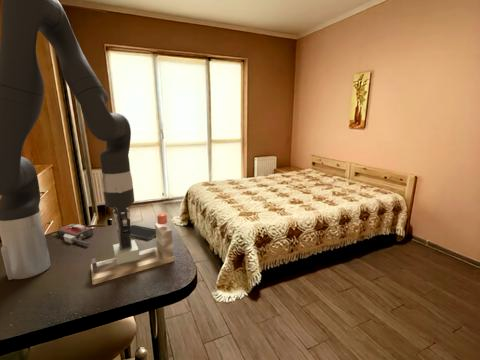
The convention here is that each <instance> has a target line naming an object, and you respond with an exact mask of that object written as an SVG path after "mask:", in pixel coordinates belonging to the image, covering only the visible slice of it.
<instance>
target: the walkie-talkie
mask: <svg viewBox="0 0 480 360" xmlns="http://www.w3.org/2000/svg"><path fill="white" fill-rule="evenodd" d="M55 233H56V235H59V237H63V239H64V242H66V243H69V244H73V243H77V244H81V245H86V246H89V245H90V243H89V242H88V241H84V240H83V239H86V238H88V237H92V236H93V235H94V229H93V227H89V226H85V225H83V224H80V223H79V224H77V223H70V224H68V225H65V226H62V227H59V229H58V230H57V231H56V232H55Z"/></svg>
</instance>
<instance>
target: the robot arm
mask: <svg viewBox="0 0 480 360" xmlns="http://www.w3.org/2000/svg"><path fill="white" fill-rule="evenodd" d="M0 7H1V10H0V11H1V12H0V13H1V15H0V17H1V20H0V21H1V22H0V25H1V27H0V28H1V29H0V30H1V31H0V196H1V197H0V240H1V244H2V246H1V248H0V251H1V256H2V259H3V263H4V264H3V265H4V267H5V272H6V275H7V279H8V281H10V280H22V279H28V278H29V279H30V278H32V277H35V276H37V275H40V274H41V273H44V272H45V271H46V270H49V269H50V267H51V259H50V253H49V249H48V244H47V240H46V235H45V229H44V224H43V220H42V215H41V211H40V202H41V190H40V184H39V183H40V182H39V177H38V173H37V170H36V167H35V166H34V165H35V164H33V162H31V161H30V160H29V158H27V157H24V156H22V154H23V148H24V145H25V142H26V140H27V138H28V137H29V135H30V133H31V132H32V130H33V128H34V126H35V125H36V124H37V122H38V120H39V119H40V118H39V117H40V116H41V112H42V109H43V108H42V107H43V103H44V96H45V81H44V78H43V77H44V76H43V73H42V70H41V67H40V64H39V59H38V55H37V41H38V40H37V39H38V33H39V32H40V33H41V34H42V36H43V37H45V39H46V41H48V43H49V44H50V45H51V47H52V48H53V50H54V52H55V54H56V55H57V59H58V60H59V61H58V62H59V65H60V70H61V73H62V76H63V78H64V81H65V83H66V84H67V87H68V88H69V91H71V93H72V94H73V96H74V98H75V99H76V101H77V102H78V104H79V105H80V110H81V113H82V115H83V118H84V122H85V124H86V127H87V129H88V130H89V132H90V133H91V134H92V135H93V137H94V138H96V139H97V140H99V141H101V142H106V146H105V149H104V150H103V151H101V153H100V154H99V161H100V168H101V184H102V192H103V198H104V199H103V200H104V206H106V207H107V208H113V210H112V214H113V217H114V222H115V225H116V229H117V230H119V232H120V234H119V235H120V237H121V244H122V248H128V247H130V238H129V235H131V232H130V226H131V219H130V217H131V212H130V209H129V208H128V206H131V205H133V204H134V203H135V192H134V182H133V177H132V174H131V166H130V157H129V155H130V154H129V153H130V148H131V140H132V138H131V137H132V131H131V124H130V122H129V120H128V118H127V117H126V116H125V115H123V114H122V113H119V112H118V113H117V112H110V111H109V109H108V107H107V103H108V102H109V96H108V93H107V92H106V90H105V88H104V86H103V85H102V83H101V82H100V80H99V77H98V76H97V75H96V73H95V71H94V70H93V69H92V67H91V65H90V64H89V61H88V59H87V58H86V56H85V54H84V52H83V50H82V48H81V46H80V43H79V41H78V40H77V37H76V35H75V33H74V31H73V28H72V26H71V23H70V21H69V17H68V16H67V14H66V11H65V10H64V8H63V6H62V4H61V2H60V1H59V0H1V6H0ZM126 230H127V231H126ZM123 231H125V232H123Z"/></svg>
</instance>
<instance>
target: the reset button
mask: <svg viewBox="0 0 480 360" xmlns="http://www.w3.org/2000/svg"><path fill="white" fill-rule="evenodd" d="M156 219H157V223H158V224H167V223H168V215H167V214H166V213H159V214H157V217H156Z"/></svg>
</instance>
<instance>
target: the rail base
mask: <svg viewBox="0 0 480 360" xmlns="http://www.w3.org/2000/svg"><path fill="white" fill-rule="evenodd" d="M154 229H155V231H156V237H155V239H156V240H155V241H156V246H154V247H152V248H151V247H150V248H147V249H143V250H139V257H140V259H137V260H133V261H129V262H126V263H122V264H118V265H117V263H116V259H115V257H113V258H109V259H108V258H107V259H105V260H101V261H97V259H96V257H94V258H91V264H90V270H91V274H90V275H91V283H92V285H96V284H101V283H103V282H107V281H111V280H114V279H118V278H122V277H125V276H127V275H132V274H134V273H138V272H141V271H145V270H147V269H151V268H152V269H153V268H154V267H159V266H161V265H166V264H168V263H171V262H175V256H174V246H173V233H172V232H173V231H172V229H171V228H170V226H169V225H167V223H166V224H158V222H156V223H154Z"/></svg>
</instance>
